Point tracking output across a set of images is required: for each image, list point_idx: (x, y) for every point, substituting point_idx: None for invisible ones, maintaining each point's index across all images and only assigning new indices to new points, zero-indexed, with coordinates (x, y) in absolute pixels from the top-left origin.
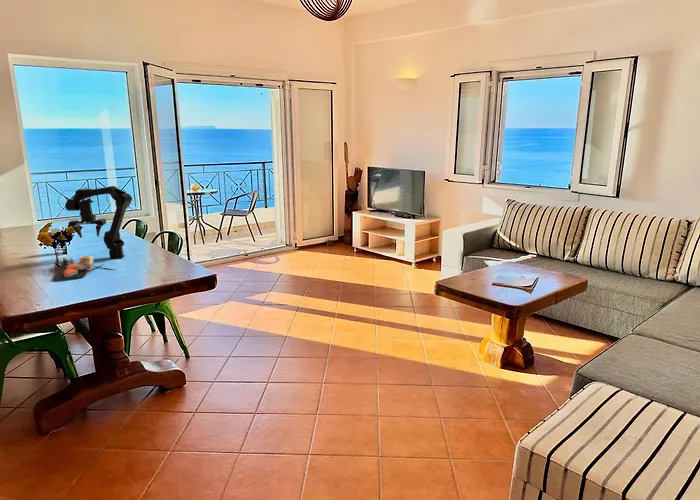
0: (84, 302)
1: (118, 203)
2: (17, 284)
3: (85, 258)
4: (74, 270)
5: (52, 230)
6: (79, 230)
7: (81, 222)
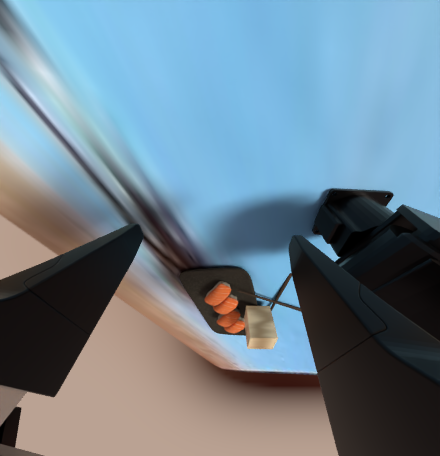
0: (280, 372)
1: None
2: (164, 321)
3: (262, 347)
4: (240, 330)
5: None
6: (81, 300)
7: None
